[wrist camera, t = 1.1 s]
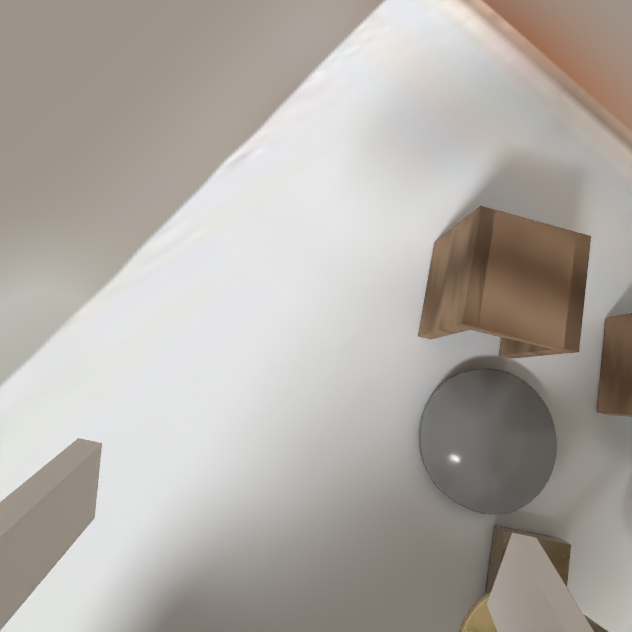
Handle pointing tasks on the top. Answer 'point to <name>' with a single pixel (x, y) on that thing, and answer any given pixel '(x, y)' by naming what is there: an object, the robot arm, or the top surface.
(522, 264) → the cover
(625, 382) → the cover
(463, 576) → the top surface
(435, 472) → the dish
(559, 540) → the balance
